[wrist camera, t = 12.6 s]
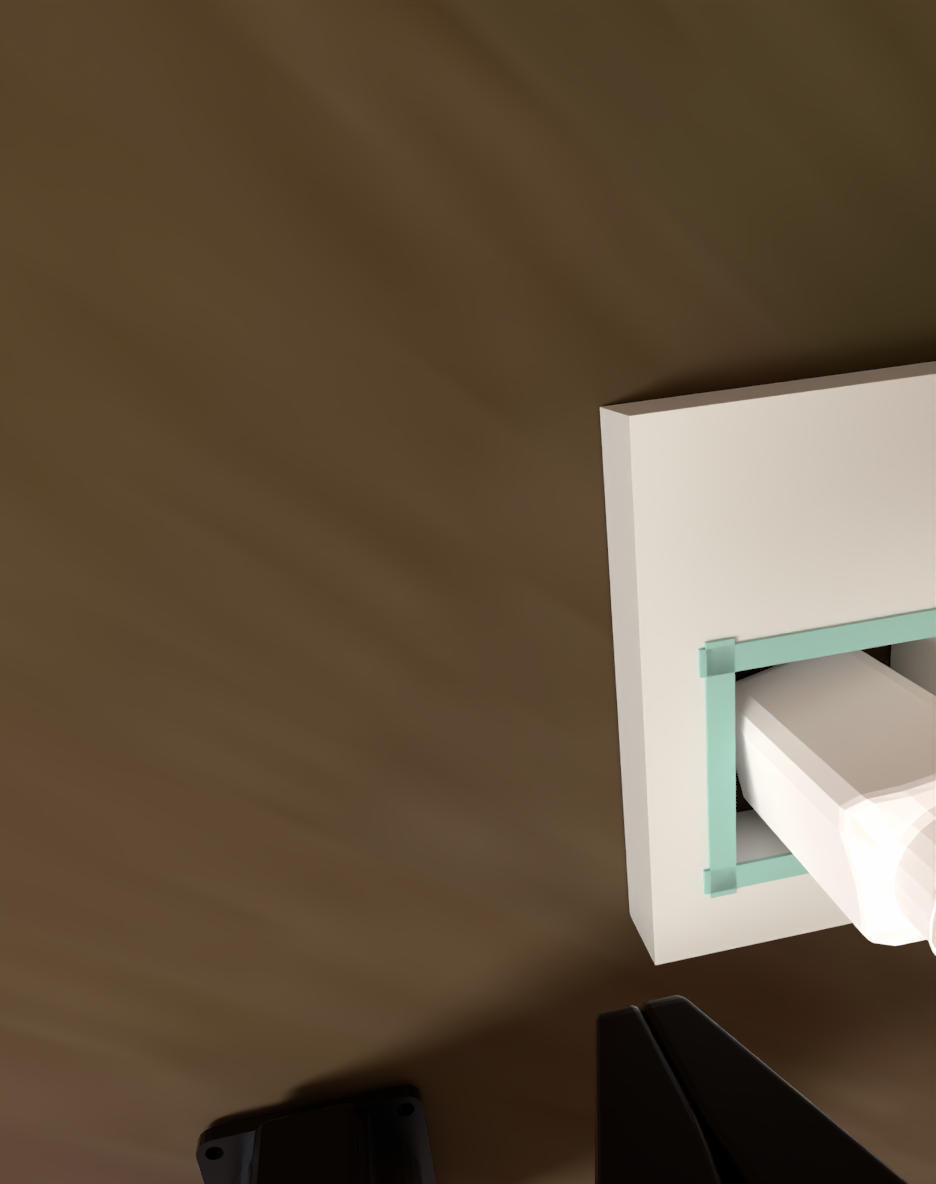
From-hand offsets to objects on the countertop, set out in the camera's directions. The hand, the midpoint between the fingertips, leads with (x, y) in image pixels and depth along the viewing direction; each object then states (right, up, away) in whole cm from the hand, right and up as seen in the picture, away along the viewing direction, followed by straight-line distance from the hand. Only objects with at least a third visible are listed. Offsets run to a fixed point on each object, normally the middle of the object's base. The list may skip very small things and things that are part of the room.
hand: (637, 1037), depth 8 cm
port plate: (+7, +2, +14) cm, 16 cm away
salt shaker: (+7, +1, +15) cm, 17 cm away
